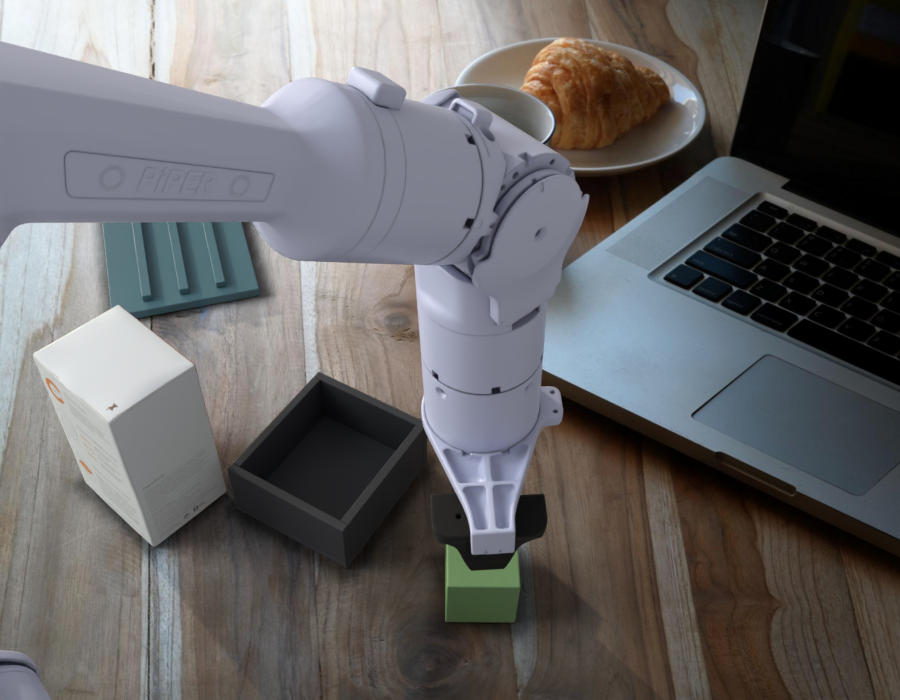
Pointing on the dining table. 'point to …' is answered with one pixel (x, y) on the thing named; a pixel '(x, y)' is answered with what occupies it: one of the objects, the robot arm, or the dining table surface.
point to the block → (480, 591)
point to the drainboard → (176, 265)
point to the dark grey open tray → (329, 468)
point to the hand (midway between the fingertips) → (482, 503)
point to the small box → (134, 421)
